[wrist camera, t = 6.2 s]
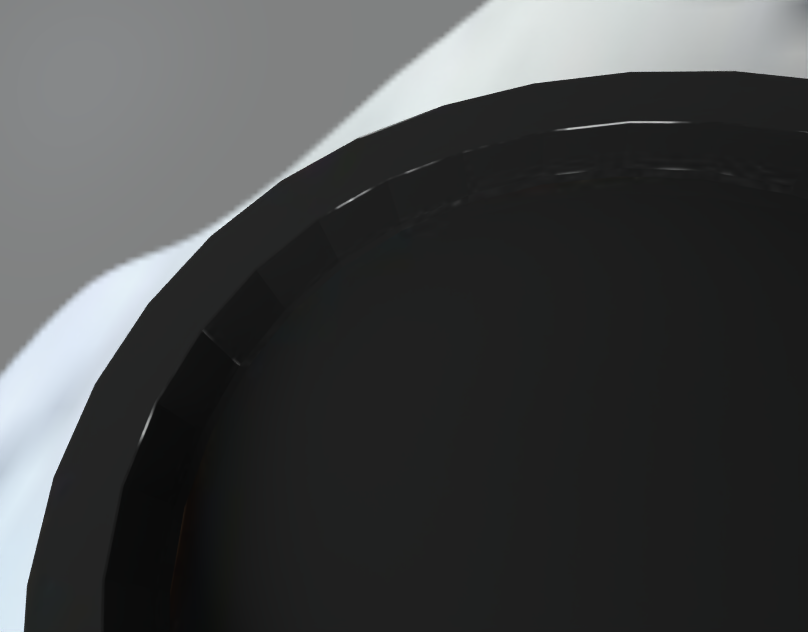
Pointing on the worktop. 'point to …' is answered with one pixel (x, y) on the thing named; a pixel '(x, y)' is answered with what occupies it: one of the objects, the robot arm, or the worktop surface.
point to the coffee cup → (470, 384)
